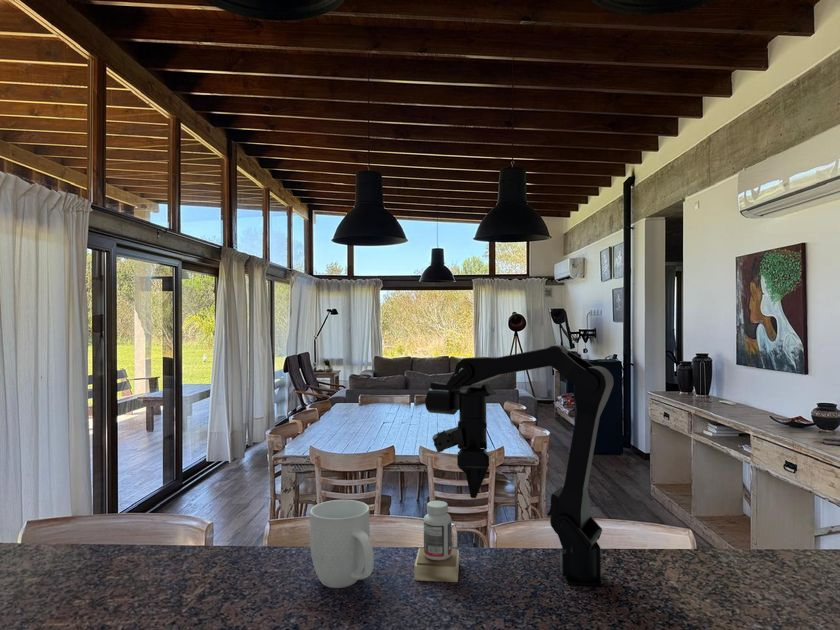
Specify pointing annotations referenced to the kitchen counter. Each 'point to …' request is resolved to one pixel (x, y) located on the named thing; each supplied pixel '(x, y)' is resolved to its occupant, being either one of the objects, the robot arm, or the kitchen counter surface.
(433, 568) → the plinth
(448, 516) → the pill bottle
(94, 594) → the kitchen counter surface
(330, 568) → the mug
